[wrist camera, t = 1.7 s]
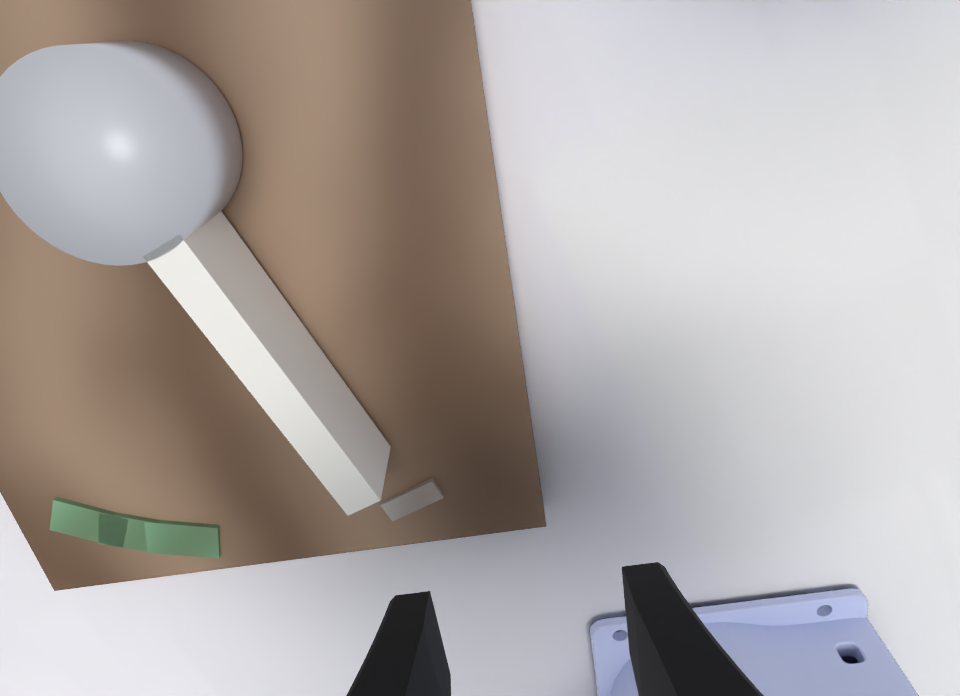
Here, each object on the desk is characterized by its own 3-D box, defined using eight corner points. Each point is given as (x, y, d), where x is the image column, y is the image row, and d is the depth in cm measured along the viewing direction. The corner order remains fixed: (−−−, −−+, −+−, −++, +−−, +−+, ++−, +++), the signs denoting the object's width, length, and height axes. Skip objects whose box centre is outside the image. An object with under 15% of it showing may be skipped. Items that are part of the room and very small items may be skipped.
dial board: (446, -163, 15) (445, -176, 14) (543, 506, 23) (547, 529, 22) (-247, -33, 16) (-297, -38, 15) (70, 568, 23) (51, 594, 22)
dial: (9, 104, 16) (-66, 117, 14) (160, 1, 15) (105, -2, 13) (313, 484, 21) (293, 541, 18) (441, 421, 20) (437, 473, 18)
